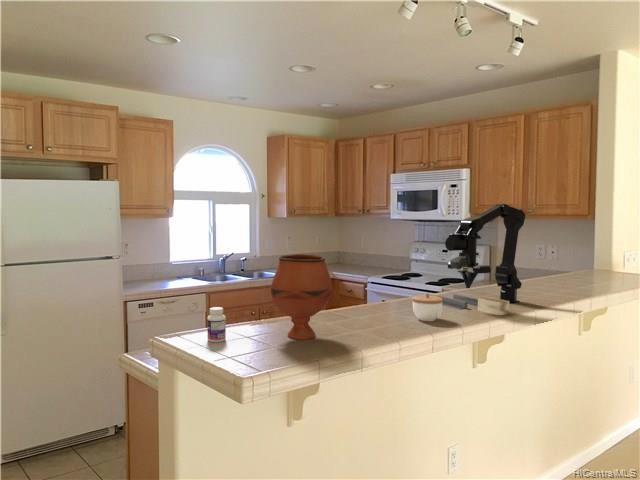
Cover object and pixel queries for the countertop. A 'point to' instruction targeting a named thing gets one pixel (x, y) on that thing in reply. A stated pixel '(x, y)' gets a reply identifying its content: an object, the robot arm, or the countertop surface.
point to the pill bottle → (216, 325)
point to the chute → (459, 301)
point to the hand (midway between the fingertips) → (467, 288)
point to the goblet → (301, 290)
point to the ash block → (493, 306)
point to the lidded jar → (427, 307)
